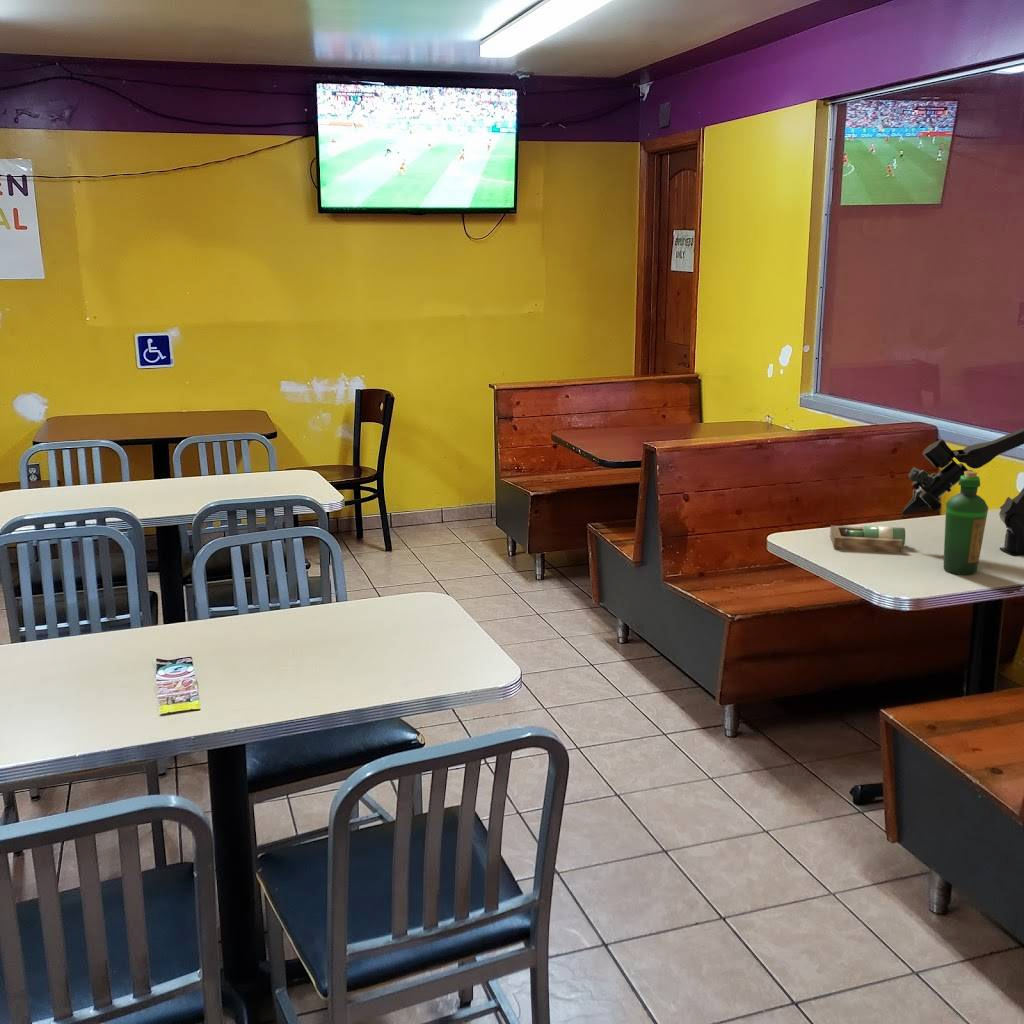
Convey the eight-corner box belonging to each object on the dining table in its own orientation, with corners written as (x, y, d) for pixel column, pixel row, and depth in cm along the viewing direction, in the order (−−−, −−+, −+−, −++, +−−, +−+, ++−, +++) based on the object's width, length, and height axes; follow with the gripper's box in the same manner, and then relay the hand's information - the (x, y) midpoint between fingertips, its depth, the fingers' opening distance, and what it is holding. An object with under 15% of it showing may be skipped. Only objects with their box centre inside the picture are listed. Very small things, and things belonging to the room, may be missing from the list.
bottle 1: (905, 527, 303) (846, 525, 306) (904, 546, 303) (845, 543, 307) (902, 527, 309) (844, 524, 312) (901, 545, 309) (843, 542, 312)
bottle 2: (987, 576, 278) (999, 476, 271) (947, 576, 279) (958, 476, 272) (971, 565, 289) (982, 468, 282) (933, 565, 289) (943, 468, 282)
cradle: (894, 539, 314) (895, 528, 313) (901, 552, 301) (902, 541, 300) (829, 536, 318) (830, 525, 317) (834, 549, 305) (834, 537, 304)
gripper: (921, 453, 308) (880, 487, 313) (933, 465, 291) (888, 501, 296) (946, 479, 309) (905, 513, 314) (959, 493, 291) (915, 529, 296)
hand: (902, 513), depth 305 cm, fingers closed
